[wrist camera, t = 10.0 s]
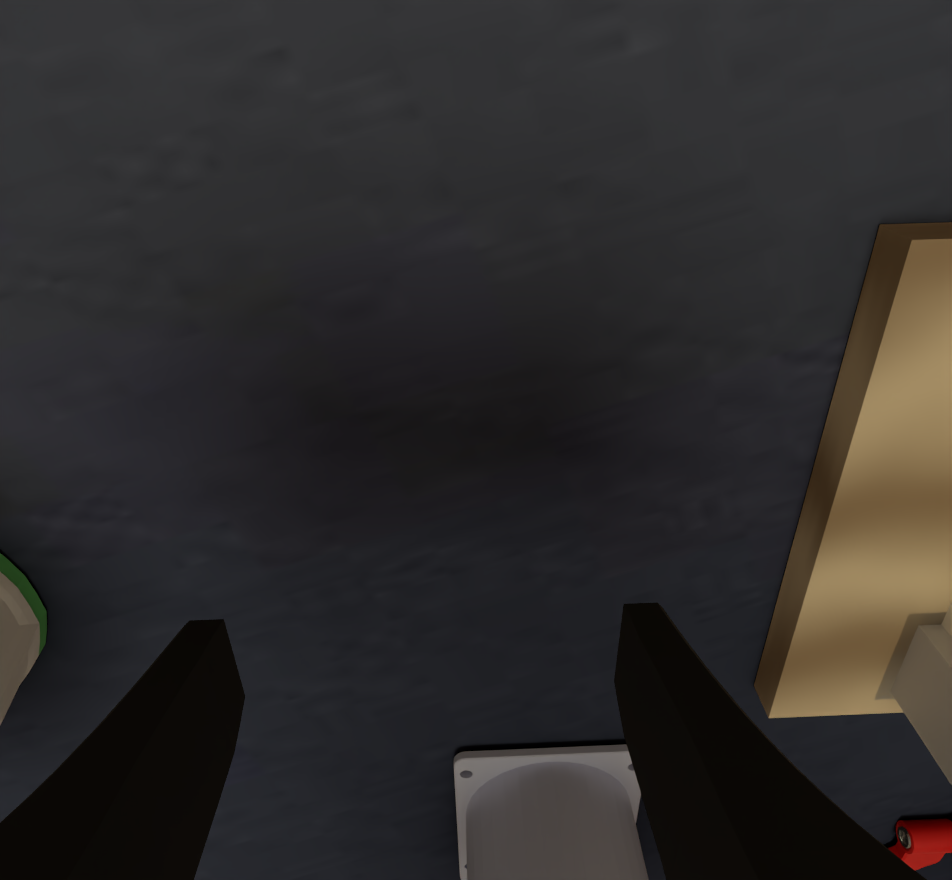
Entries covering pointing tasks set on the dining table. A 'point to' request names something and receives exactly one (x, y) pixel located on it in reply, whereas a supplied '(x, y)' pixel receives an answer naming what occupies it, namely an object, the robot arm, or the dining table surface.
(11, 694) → the cup
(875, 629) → the base board
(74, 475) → the dining table surface
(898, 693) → the door
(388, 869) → the dining table surface
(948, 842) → the tow hook
